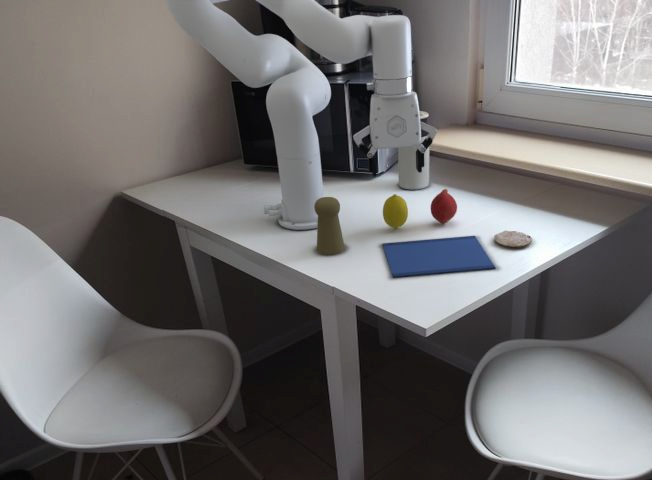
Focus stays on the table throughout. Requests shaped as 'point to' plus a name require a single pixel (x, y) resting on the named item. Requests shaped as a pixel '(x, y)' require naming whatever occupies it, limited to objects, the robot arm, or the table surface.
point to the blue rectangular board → (436, 256)
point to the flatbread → (513, 238)
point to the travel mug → (413, 163)
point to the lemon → (395, 211)
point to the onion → (443, 207)
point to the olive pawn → (328, 227)
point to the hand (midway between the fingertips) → (396, 172)
